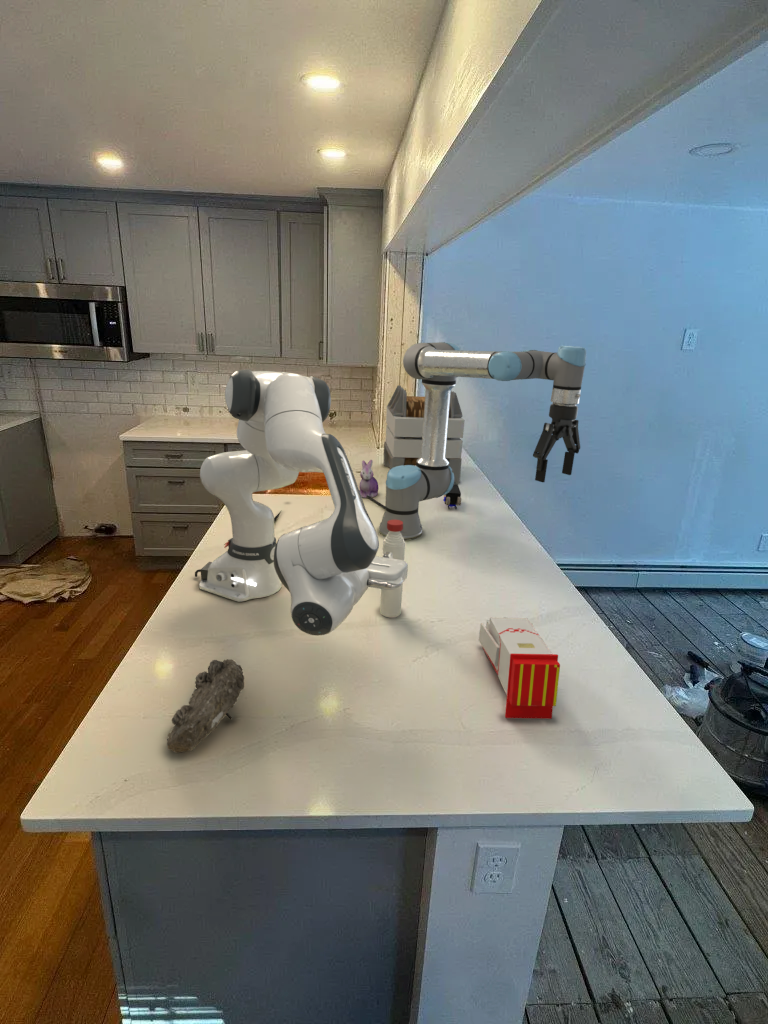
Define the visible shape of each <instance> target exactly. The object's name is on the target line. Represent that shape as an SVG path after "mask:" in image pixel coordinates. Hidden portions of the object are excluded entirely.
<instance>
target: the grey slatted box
mask: <svg viewBox="0 0 768 1024" xmlns="http://www.w3.org/2000/svg"><path fill="white" fill-rule="evenodd" d="M407 394H408V393H407V390H406V389H404V388H403V387H402V385H399V384H398V385H397V386H396V388H395V390H394V392H393V394H392V395H391V398H390V400H389V402H388V404H387V405H386V413H385V414H386V415H385V423H386V428H385V438H384V442H383V466H384V467H388V468H389V470H390V469H392V468H394V467H396V466H401V465H404V466H405V465H413V466H416V461H417V459H418V458H420V457H421V450H422V435H423V420H424V406H425V396H415V395H414V396H413V395H412V396H411V395H407ZM464 429H465V419H464V418H463V411H462V408H461V405H460V402H459V398H458V395H457V392H455V391H453V390H451V394H450V406H449V418H448V430H447V442H446V454H445V458H446V459H447V461H448V462H449V466H450V467H451V469H452V473H454V484H459V483H461V472H462V461H463V460H462V453H463V442H464V441H463V440H462V439H463V438H464V431H465V430H464Z"/></svg>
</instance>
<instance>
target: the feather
mask: <svg viewBox="0 0 768 1024" xmlns="http://www.w3.org/2000/svg"><path fill="white" fill-rule="evenodd" d="M281 512H282V510H280V512H279V513H277V514H276V516H274V524H275V523H276V521H277V520H278V518H279V516H280V514H281Z"/></svg>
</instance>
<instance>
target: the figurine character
mask: <svg viewBox="0 0 768 1024" xmlns="http://www.w3.org/2000/svg"><path fill="white" fill-rule="evenodd" d="M442 500H443V502H444V504H445V506H447V509H448V510H451V508H453V507H454V510H457V509H458V507H459V506H461V505H462V492H461V490H460V486H459V483H454V484H453V487H452V489H451V490H450V491H449V492H448V493H447V494H445V495H443V499H442ZM450 507H451V508H450Z"/></svg>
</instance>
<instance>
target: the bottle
mask: <svg viewBox="0 0 768 1024" xmlns="http://www.w3.org/2000/svg"><path fill="white" fill-rule="evenodd" d="M405 551H406V540H404V539H403V537H402V535H401V533H400V531H399V532H393V531H389V532H388V534H387V536H386V537H384V539H383V542H382V557H384V554H385V552H390V553H393V559H398V560H404V561H405ZM403 584H404V582H403V583H402V584H401V586H400V587H398V588H396V589H394V590H384V589H380V602H379V603H380V604H379V614H380V615H382V616H383V617H386V618H397V617H399V616H401V614H402V603H403V602H402V601H403V600H402V599H403Z"/></svg>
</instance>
